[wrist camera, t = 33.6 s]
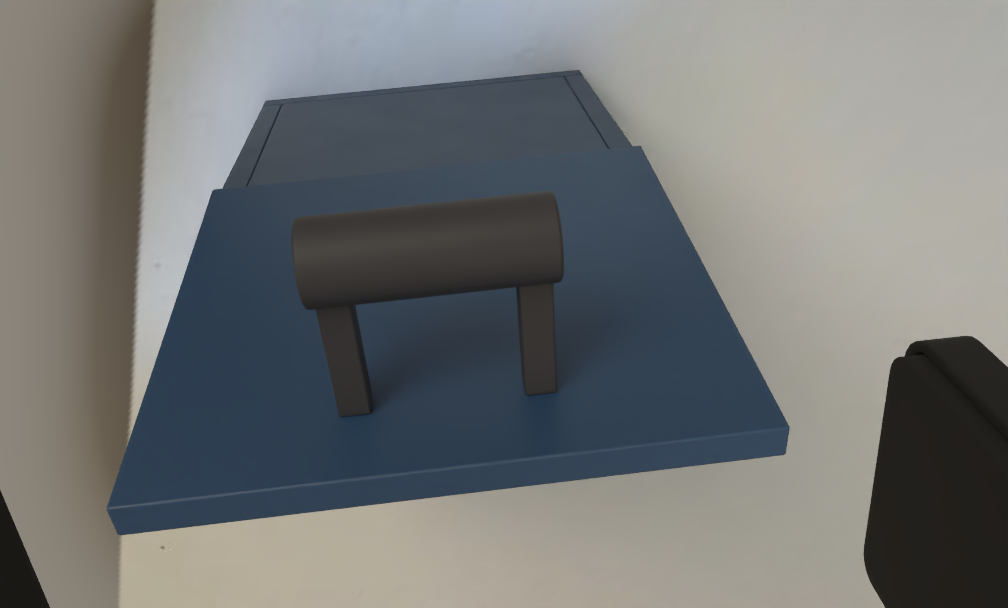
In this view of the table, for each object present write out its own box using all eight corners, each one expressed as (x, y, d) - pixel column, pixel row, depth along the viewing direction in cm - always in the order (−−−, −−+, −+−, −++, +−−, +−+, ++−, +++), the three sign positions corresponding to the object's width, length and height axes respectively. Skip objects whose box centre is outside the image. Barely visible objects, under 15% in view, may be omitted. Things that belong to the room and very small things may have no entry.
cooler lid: (786, 455, 19) (821, 229, 16) (117, 537, 18) (18, 317, 15) (640, 167, 30) (644, 0, 27) (218, 211, 29) (172, 45, 26)
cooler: (588, 321, 46) (639, 460, 36) (315, 352, 45) (290, 502, 35) (579, 69, 40) (637, 151, 30) (265, 100, 39) (218, 195, 29)
